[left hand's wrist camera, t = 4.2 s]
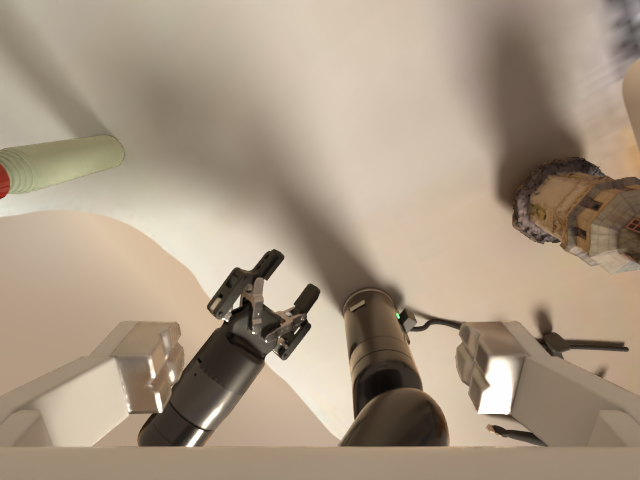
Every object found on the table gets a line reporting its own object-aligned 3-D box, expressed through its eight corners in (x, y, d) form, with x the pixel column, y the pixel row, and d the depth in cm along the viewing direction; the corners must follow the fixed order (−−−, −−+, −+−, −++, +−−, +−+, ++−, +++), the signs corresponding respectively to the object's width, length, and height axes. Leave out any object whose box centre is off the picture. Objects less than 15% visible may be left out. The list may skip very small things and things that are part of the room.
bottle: (95, 129, 54) (-55, 146, 33) (127, 142, 55) (1, 166, 33) (90, 160, 56) (-56, 194, 34) (121, 171, 56) (-3, 212, 35)
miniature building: (607, 181, 57) (888, 255, 29) (546, 250, 61) (739, 373, 33) (546, 136, 54) (788, 169, 26) (486, 211, 59) (640, 308, 30)
